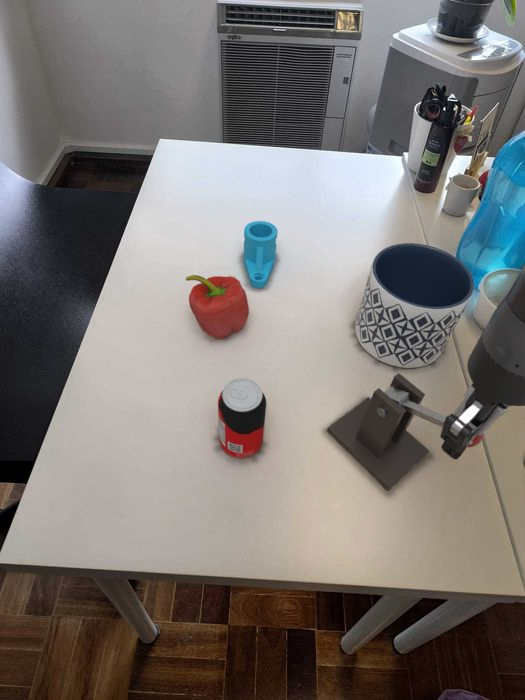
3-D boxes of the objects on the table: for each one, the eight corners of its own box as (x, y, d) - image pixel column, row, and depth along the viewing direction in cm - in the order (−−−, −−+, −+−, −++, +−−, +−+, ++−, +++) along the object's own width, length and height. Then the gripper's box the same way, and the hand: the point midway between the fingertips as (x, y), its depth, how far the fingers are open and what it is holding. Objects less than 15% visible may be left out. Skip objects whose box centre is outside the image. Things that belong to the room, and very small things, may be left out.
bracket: (275, 251, 99) (277, 221, 93) (274, 289, 91) (277, 259, 85) (244, 249, 99) (244, 220, 93) (241, 287, 91) (241, 258, 85)
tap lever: (490, 441, 54) (490, 416, 52) (472, 458, 53) (472, 434, 51) (397, 401, 64) (394, 379, 62) (379, 414, 63) (376, 393, 61)
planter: (445, 316, 88) (475, 255, 77) (440, 380, 78) (474, 320, 67) (362, 296, 91) (379, 234, 80) (346, 355, 81) (364, 293, 70)
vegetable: (178, 336, 82) (172, 293, 74) (201, 298, 88) (198, 255, 81) (237, 353, 80) (237, 311, 72) (256, 312, 86) (258, 270, 79)
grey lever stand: (427, 454, 69) (459, 405, 59) (387, 491, 65) (414, 445, 55) (366, 401, 75) (386, 348, 65) (326, 431, 71) (341, 380, 61)
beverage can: (255, 466, 66) (259, 420, 57) (213, 454, 67) (210, 407, 58) (267, 429, 70) (272, 381, 61) (227, 418, 71) (226, 369, 62)
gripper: (523, 412, 38) (451, 502, 51) (602, 334, 44) (520, 432, 57) (445, 356, 41) (397, 454, 54) (528, 291, 48) (467, 392, 61)
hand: (460, 442), depth 56 cm, fingers closed on tap lever, 3 cm apart
